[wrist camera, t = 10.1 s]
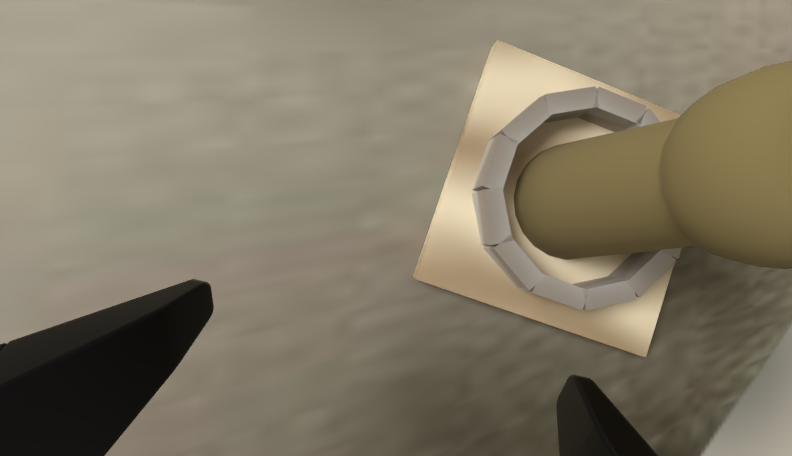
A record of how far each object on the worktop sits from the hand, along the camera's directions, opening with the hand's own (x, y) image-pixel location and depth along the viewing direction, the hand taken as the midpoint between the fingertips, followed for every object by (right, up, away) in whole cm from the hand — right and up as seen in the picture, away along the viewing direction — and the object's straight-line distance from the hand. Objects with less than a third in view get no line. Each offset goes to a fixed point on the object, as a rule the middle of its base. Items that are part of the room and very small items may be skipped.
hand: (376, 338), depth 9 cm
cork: (+9, +4, +10) cm, 14 cm away
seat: (+10, +4, +11) cm, 15 cm away
